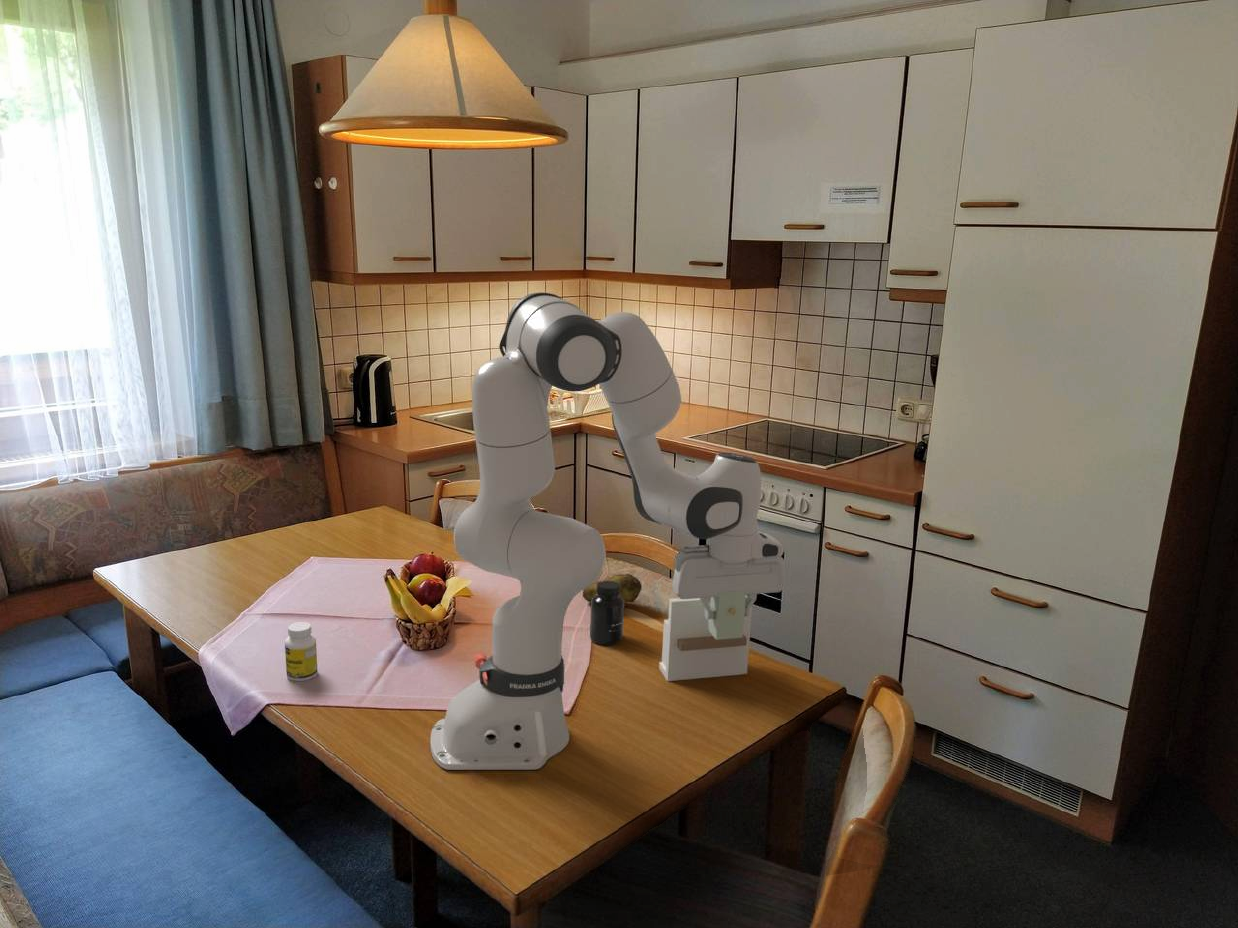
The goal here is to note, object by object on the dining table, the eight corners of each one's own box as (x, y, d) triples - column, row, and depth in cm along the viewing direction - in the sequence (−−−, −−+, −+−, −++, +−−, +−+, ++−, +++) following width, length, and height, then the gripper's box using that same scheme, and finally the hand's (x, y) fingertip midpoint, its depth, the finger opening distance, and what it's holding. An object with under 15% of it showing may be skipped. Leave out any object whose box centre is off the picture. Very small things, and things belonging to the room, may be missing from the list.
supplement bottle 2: (619, 648, 181) (621, 592, 178) (586, 643, 182) (587, 588, 179) (625, 633, 187) (627, 580, 185) (593, 630, 189) (595, 576, 186)
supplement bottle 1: (280, 677, 164) (277, 627, 162) (303, 665, 169) (300, 617, 166) (301, 684, 162) (298, 635, 159) (324, 673, 166) (321, 624, 164)
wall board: (670, 686, 166) (675, 606, 162) (658, 667, 173) (663, 590, 169) (750, 678, 170) (757, 600, 166) (736, 660, 177) (741, 585, 173)
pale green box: (717, 641, 158) (721, 594, 155) (705, 625, 164) (708, 579, 162) (744, 639, 159) (747, 592, 157) (730, 623, 165) (733, 578, 163)
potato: (600, 593, 208) (601, 560, 206) (646, 607, 201) (647, 574, 199) (578, 604, 202) (579, 570, 200) (624, 619, 195) (626, 585, 193)
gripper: (680, 553, 151) (676, 628, 155) (792, 546, 156) (786, 619, 160) (669, 540, 157) (666, 613, 160) (777, 534, 162) (771, 605, 166)
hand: (726, 616), depth 160 cm, fingers closed on pale green box, 5 cm apart
